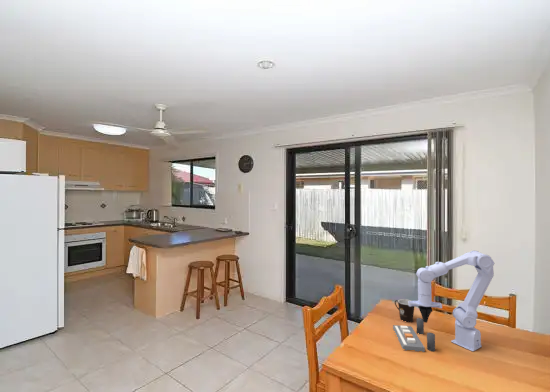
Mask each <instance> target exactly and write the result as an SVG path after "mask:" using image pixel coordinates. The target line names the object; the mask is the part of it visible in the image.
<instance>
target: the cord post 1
mask: <svg viewBox="0 0 550 392" xmlns="http://www.w3.org/2000/svg"><path fill="white" fill-rule="evenodd" d="M424 324H425V322H423V319H422V318H420V317H417V318H416V334H418V333H419V334H418V335H420V334H423V335H424V333H425V330H424V329H425V327H424V326H425V325H424Z"/></svg>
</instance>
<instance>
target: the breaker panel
mask: <svg viewBox="0 0 550 392" xmlns="http://www.w3.org/2000/svg"><path fill="white" fill-rule="evenodd" d="M393 329H394V330H393ZM392 330H393V331H395V332H394V333H396V334H395V336H396V335H397V336H396V338H397V337H398V338H397V339H398V342H399V344H400V346H401V348H402V350H403V349H405V350H404V351H407V350H415V351H414V352H419V351H422V352H423V353H425V351H426V350H425V349H426V348H425V346H424V344H423V343H422V341H421V339H420V338H419V337H418V334H417V332H415V330H414V328H413V327H412V326H411V325H399V324H398V325H395V324H393V325H392Z"/></svg>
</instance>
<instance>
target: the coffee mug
mask: <svg viewBox="0 0 550 392" xmlns="http://www.w3.org/2000/svg"><path fill="white" fill-rule="evenodd" d="M408 301H412V300H410V299H406V298H402V299H396V300H394V305H395V307H396V308H397V309H398V311H399V319H400V320H401V321H402V320H403V321H402V322H404V321H406V322H405V323H413V321H414V313H415V306H411V307H410V306H409V305H408Z"/></svg>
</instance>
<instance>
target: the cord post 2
mask: <svg viewBox="0 0 550 392" xmlns="http://www.w3.org/2000/svg"><path fill="white" fill-rule="evenodd" d="M426 343H427V344H426V349H427V351H429V352H431V353H433V352H436V335H435V333H433V332H427V333H426Z"/></svg>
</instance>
